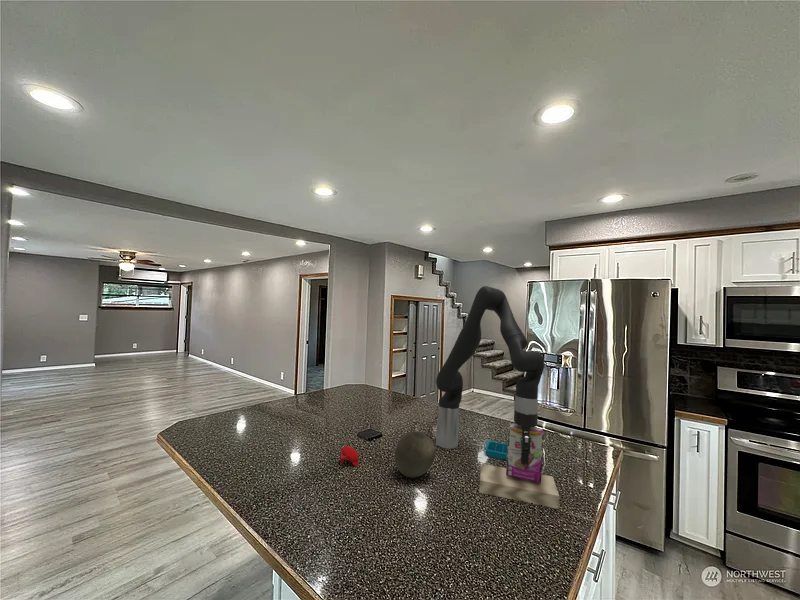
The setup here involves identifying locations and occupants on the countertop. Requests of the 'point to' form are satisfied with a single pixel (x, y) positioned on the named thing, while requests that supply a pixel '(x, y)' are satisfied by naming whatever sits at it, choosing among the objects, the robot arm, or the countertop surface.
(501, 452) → the ice cube tray
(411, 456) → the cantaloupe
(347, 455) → the cap
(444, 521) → the countertop surface
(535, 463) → the candy bar box
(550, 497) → the birch stand
